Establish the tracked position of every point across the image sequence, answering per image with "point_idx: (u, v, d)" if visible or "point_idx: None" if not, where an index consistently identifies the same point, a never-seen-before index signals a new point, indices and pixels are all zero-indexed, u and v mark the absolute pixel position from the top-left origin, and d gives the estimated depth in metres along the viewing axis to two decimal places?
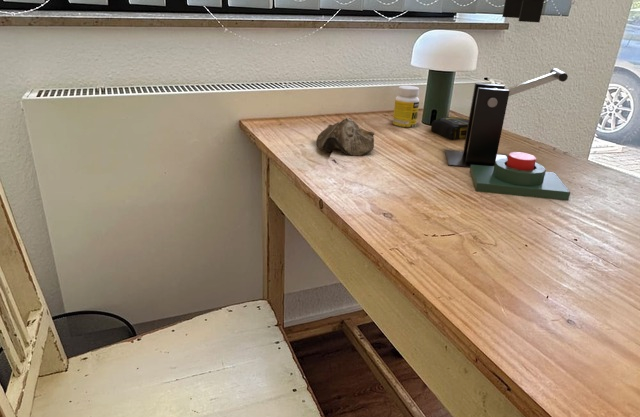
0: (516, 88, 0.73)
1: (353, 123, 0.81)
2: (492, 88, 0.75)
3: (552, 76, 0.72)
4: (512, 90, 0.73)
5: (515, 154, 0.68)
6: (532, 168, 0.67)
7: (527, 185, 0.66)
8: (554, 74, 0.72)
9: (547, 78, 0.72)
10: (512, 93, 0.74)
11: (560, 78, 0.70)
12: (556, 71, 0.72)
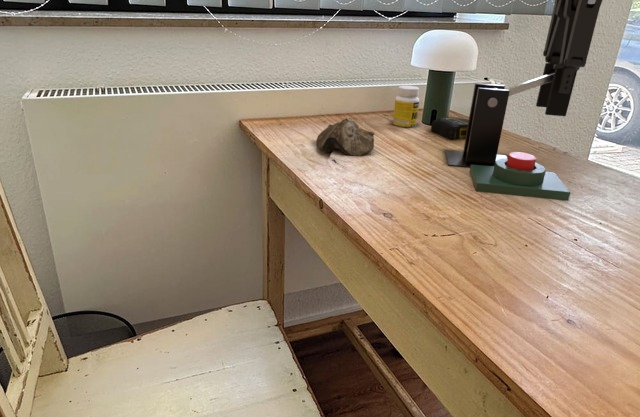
0: (516, 88, 0.73)
1: (353, 123, 0.81)
2: (492, 88, 0.75)
3: (552, 76, 0.72)
4: (512, 90, 0.73)
5: (515, 154, 0.68)
6: (532, 168, 0.67)
7: (527, 185, 0.66)
8: None
9: (547, 78, 0.72)
10: (512, 93, 0.74)
11: None
12: None
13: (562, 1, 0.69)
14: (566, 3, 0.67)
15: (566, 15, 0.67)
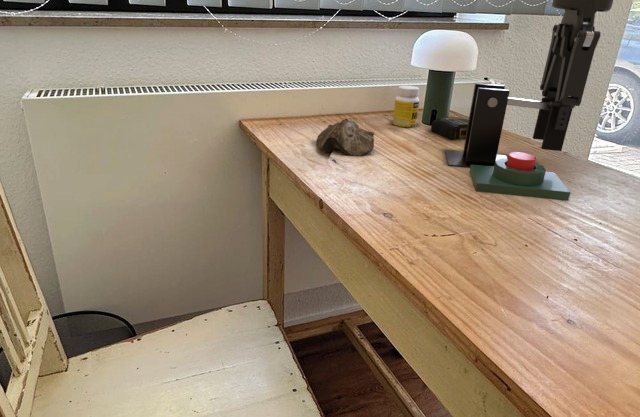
0: (517, 101, 0.74)
1: (353, 123, 0.81)
2: None
3: None
4: (513, 101, 0.74)
5: (515, 154, 0.68)
6: (532, 168, 0.67)
7: (527, 185, 0.66)
8: None
9: (547, 105, 0.74)
10: (511, 103, 0.74)
11: None
12: None
13: (558, 40, 0.71)
14: (562, 43, 0.69)
15: (562, 55, 0.69)
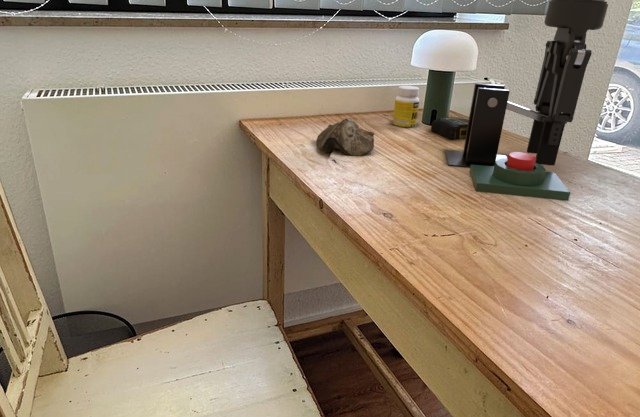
0: (515, 106, 0.74)
1: (353, 123, 0.81)
2: None
3: None
4: (511, 106, 0.74)
5: (515, 154, 0.68)
6: (532, 168, 0.67)
7: (527, 185, 0.66)
8: None
9: (542, 117, 0.74)
10: (509, 108, 0.75)
11: None
12: None
13: (551, 56, 0.72)
14: (554, 60, 0.70)
15: (554, 72, 0.70)
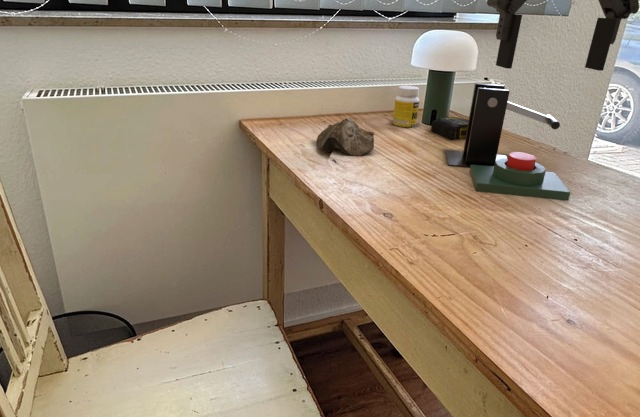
0: (515, 106, 0.74)
1: (353, 123, 0.81)
2: None
3: (546, 119, 0.74)
4: (511, 106, 0.74)
5: (515, 154, 0.68)
6: (532, 168, 0.67)
7: (527, 185, 0.66)
8: (549, 118, 0.74)
9: (542, 117, 0.74)
10: (509, 108, 0.75)
11: (553, 124, 0.73)
12: (552, 117, 0.75)
13: None
14: None
15: None
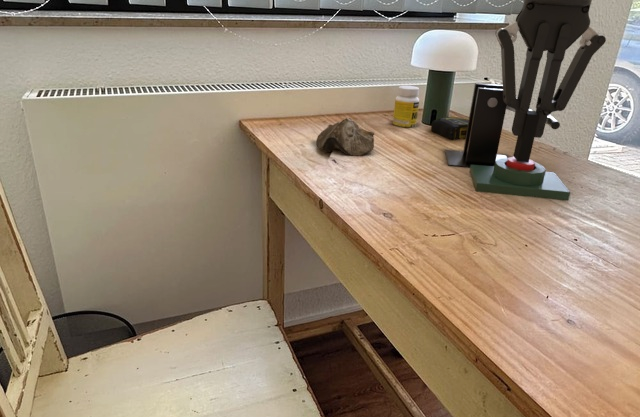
0: None
1: (353, 123, 0.81)
2: None
3: None
4: None
5: (514, 159, 0.69)
6: None
7: (527, 185, 0.66)
8: (549, 118, 0.74)
9: None
10: (509, 108, 0.75)
11: (553, 124, 0.73)
12: (552, 117, 0.75)
13: None
14: None
15: None
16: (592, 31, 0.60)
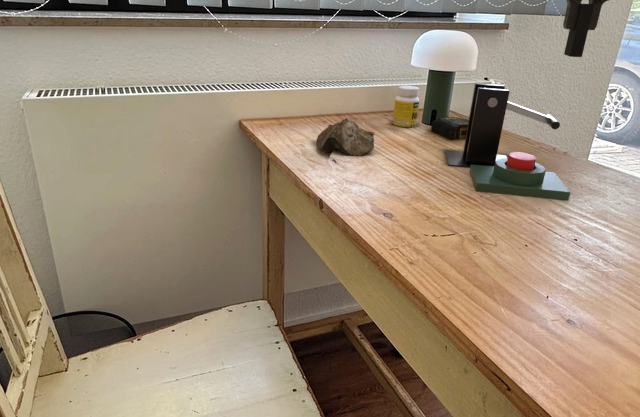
0: (515, 106, 0.74)
1: (353, 123, 0.81)
2: None
3: (546, 119, 0.74)
4: (511, 106, 0.74)
5: (515, 154, 0.68)
6: (532, 168, 0.67)
7: (527, 185, 0.66)
8: (549, 118, 0.74)
9: (542, 117, 0.74)
10: (509, 108, 0.75)
11: (553, 124, 0.73)
12: (552, 117, 0.75)
13: None
14: None
15: None
16: None
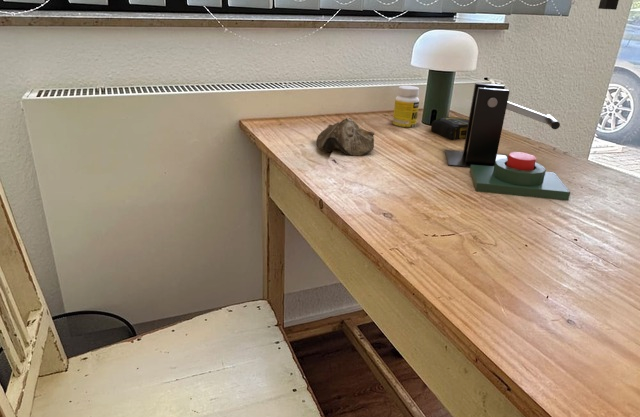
0: (515, 106, 0.74)
1: (353, 123, 0.81)
2: None
3: (546, 119, 0.74)
4: (511, 106, 0.74)
5: (515, 154, 0.68)
6: (532, 168, 0.67)
7: (527, 185, 0.66)
8: (549, 118, 0.74)
9: (542, 117, 0.74)
10: (509, 108, 0.75)
11: (553, 124, 0.73)
12: (552, 117, 0.75)
13: None
14: None
15: None
16: None
